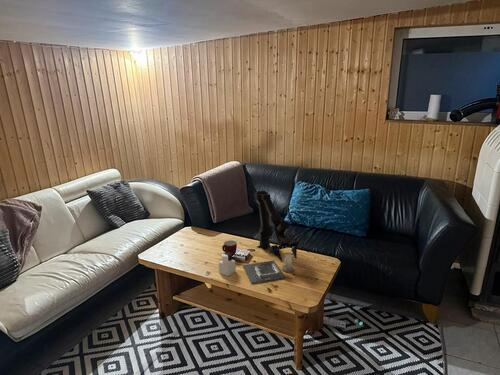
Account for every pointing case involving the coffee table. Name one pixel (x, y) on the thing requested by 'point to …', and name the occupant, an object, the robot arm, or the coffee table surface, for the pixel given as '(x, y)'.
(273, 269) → the keeper board
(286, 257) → the beige flared base peg
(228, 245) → the mug
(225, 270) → the medicine bottle
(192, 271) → the coffee table surface
